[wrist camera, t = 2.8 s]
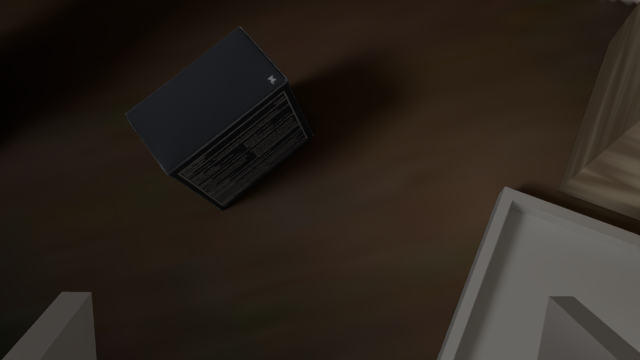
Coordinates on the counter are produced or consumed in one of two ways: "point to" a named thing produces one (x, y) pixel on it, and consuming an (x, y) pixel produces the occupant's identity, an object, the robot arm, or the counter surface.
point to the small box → (223, 121)
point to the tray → (542, 279)
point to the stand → (611, 130)
